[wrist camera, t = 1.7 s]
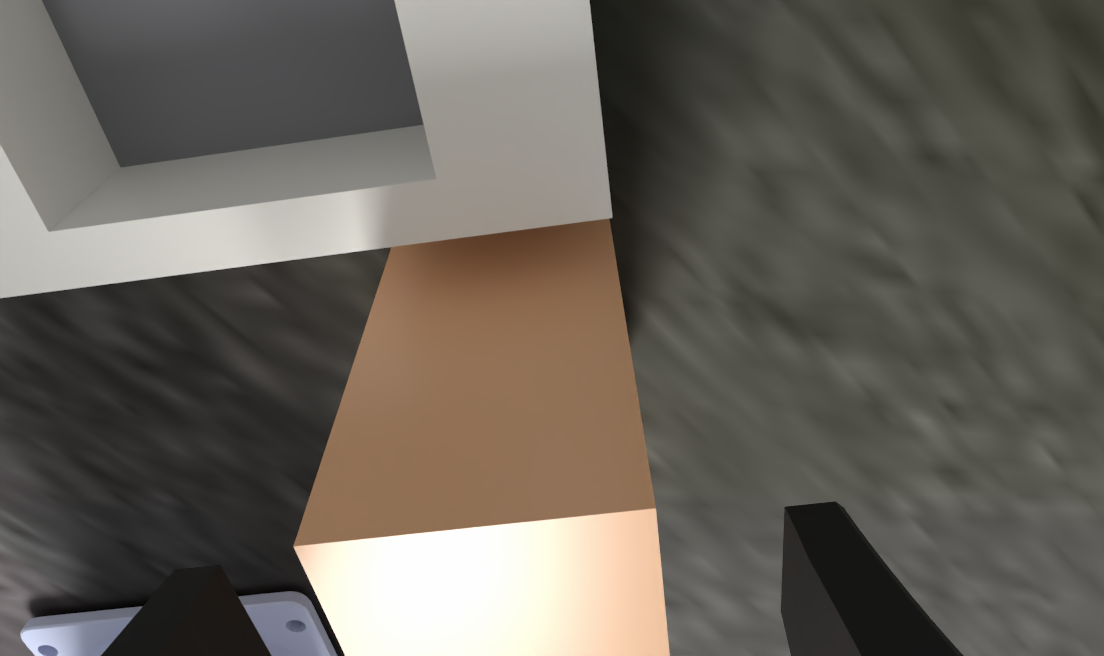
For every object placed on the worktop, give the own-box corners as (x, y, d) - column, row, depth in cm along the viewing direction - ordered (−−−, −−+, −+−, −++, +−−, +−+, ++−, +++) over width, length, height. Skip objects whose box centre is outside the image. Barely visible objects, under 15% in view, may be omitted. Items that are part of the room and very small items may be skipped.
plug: (624, 361, 17) (675, 714, 11) (444, 383, 18) (384, 739, 11) (605, 194, 15) (655, 508, 8) (400, 221, 15) (293, 546, 9)
